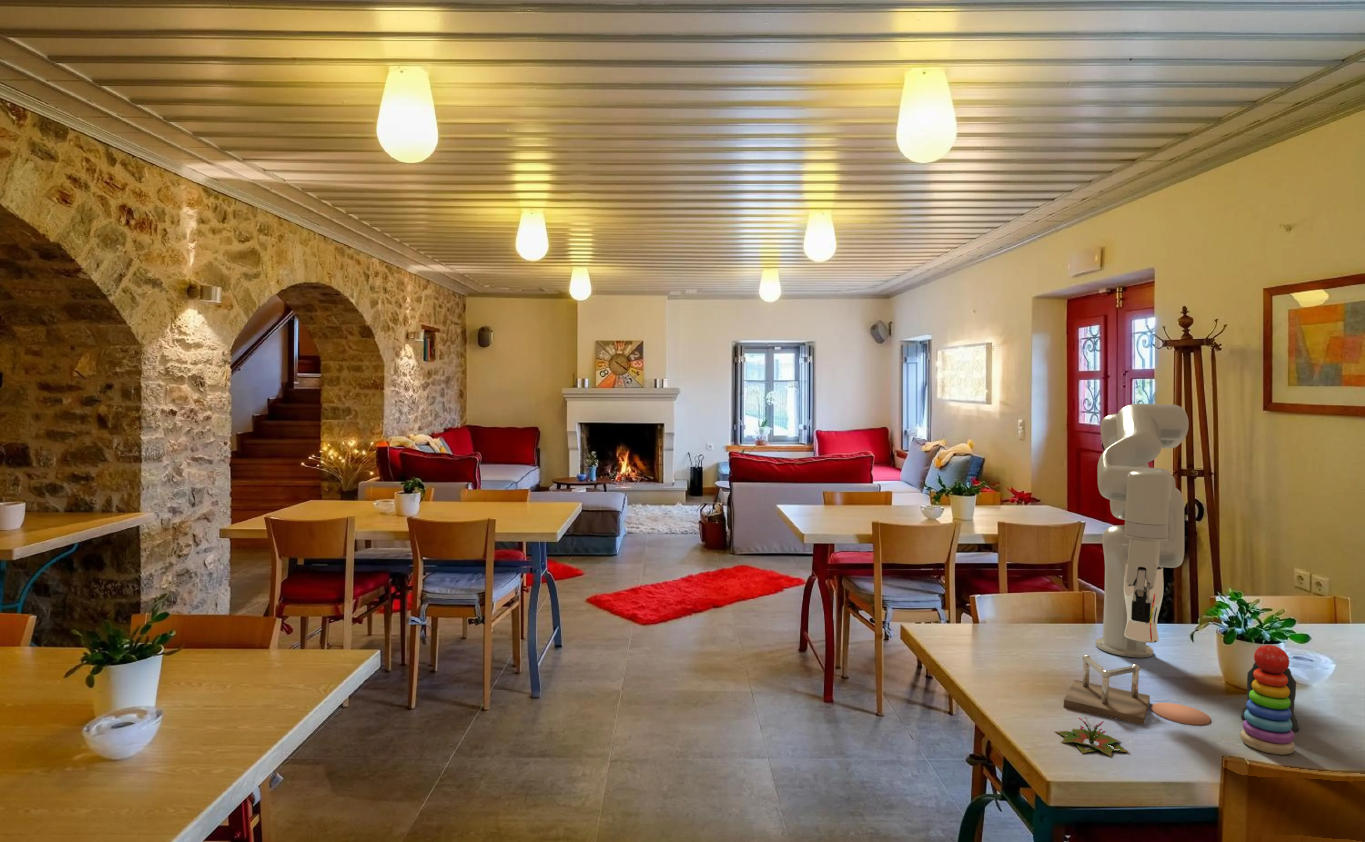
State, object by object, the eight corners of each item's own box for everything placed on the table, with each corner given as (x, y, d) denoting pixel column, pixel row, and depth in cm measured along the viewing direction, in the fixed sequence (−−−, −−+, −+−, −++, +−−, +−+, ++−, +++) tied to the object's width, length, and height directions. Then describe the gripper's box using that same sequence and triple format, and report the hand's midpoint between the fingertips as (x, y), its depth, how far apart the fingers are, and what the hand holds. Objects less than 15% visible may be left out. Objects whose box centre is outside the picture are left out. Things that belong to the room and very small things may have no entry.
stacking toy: (1228, 736, 141) (1233, 638, 141) (1268, 736, 142) (1272, 638, 141) (1265, 757, 133) (1269, 652, 133) (1306, 756, 134) (1311, 652, 133)
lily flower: (1078, 761, 131) (1079, 735, 131) (1041, 731, 143) (1042, 707, 143) (1144, 760, 132) (1145, 735, 132) (1102, 730, 144) (1103, 707, 144)
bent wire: (1082, 684, 162) (1083, 653, 162) (1139, 696, 156) (1140, 664, 156) (1074, 698, 154) (1076, 665, 154) (1134, 711, 148) (1136, 677, 148)
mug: (1299, 737, 142) (1302, 678, 141) (1239, 723, 147) (1241, 666, 147) (1299, 717, 151) (1301, 662, 150) (1242, 705, 157) (1245, 651, 156)
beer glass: (1167, 645, 151) (1170, 571, 150) (1129, 641, 152) (1132, 568, 152) (1153, 634, 158) (1156, 563, 157) (1116, 631, 159) (1119, 561, 159)
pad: (1153, 700, 158) (1153, 698, 158) (1211, 712, 152) (1211, 711, 152) (1149, 715, 150) (1149, 714, 150) (1210, 729, 144) (1210, 728, 144)
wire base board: (1074, 686, 165) (1074, 679, 165) (1149, 702, 157) (1149, 695, 157) (1063, 706, 154) (1063, 699, 153) (1143, 725, 145) (1143, 717, 145)
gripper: (1129, 523, 163) (1126, 605, 164) (1119, 534, 149) (1116, 623, 150) (1170, 527, 159) (1166, 611, 160) (1164, 539, 145) (1160, 631, 146)
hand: (1142, 616), depth 155 cm, fingers closed on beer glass, 6 cm apart
